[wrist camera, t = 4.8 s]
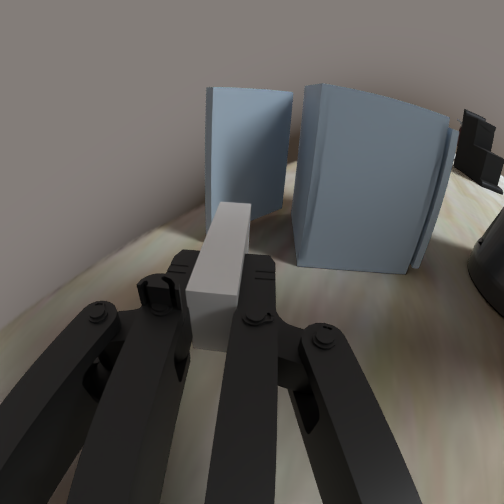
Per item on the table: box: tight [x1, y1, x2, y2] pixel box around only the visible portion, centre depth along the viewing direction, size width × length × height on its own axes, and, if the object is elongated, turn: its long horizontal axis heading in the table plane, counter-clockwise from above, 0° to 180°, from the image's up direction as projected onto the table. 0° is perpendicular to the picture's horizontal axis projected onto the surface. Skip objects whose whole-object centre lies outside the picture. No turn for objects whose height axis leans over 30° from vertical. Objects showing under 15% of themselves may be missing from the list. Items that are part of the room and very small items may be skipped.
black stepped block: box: [453, 109, 504, 195], centre depth 65 cm, size 23×11×24 cm, turn 168°
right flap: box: [205, 87, 293, 234], centre depth 24 cm, size 10×1×12 cm, turn 136°
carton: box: [291, 84, 459, 274], centre depth 23 cm, size 11×10×14 cm
